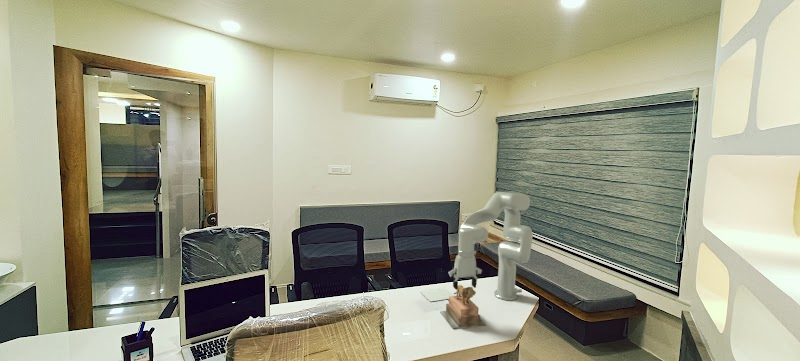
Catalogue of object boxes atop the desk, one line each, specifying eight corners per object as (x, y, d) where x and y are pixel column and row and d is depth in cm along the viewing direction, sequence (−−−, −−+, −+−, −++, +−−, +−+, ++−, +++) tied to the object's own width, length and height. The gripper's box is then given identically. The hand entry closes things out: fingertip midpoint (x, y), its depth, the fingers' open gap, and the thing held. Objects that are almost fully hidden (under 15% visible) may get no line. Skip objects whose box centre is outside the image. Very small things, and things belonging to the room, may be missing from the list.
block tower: (470, 309, 169) (471, 293, 168) (486, 325, 154) (487, 308, 153) (440, 312, 165) (440, 296, 164) (453, 329, 149) (453, 311, 149)
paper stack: (466, 306, 173) (466, 304, 173) (424, 313, 164) (424, 311, 164) (444, 288, 195) (444, 287, 195) (406, 294, 186) (406, 292, 186)
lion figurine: (476, 306, 154) (477, 287, 154) (467, 308, 152) (468, 289, 151) (457, 293, 167) (458, 277, 167) (449, 295, 165) (450, 278, 164)
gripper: (478, 250, 162) (477, 282, 164) (446, 252, 158) (445, 286, 160) (486, 254, 155) (484, 289, 157) (452, 257, 151) (451, 292, 152)
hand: (464, 287), depth 158 cm, fingers open, 9 cm apart
